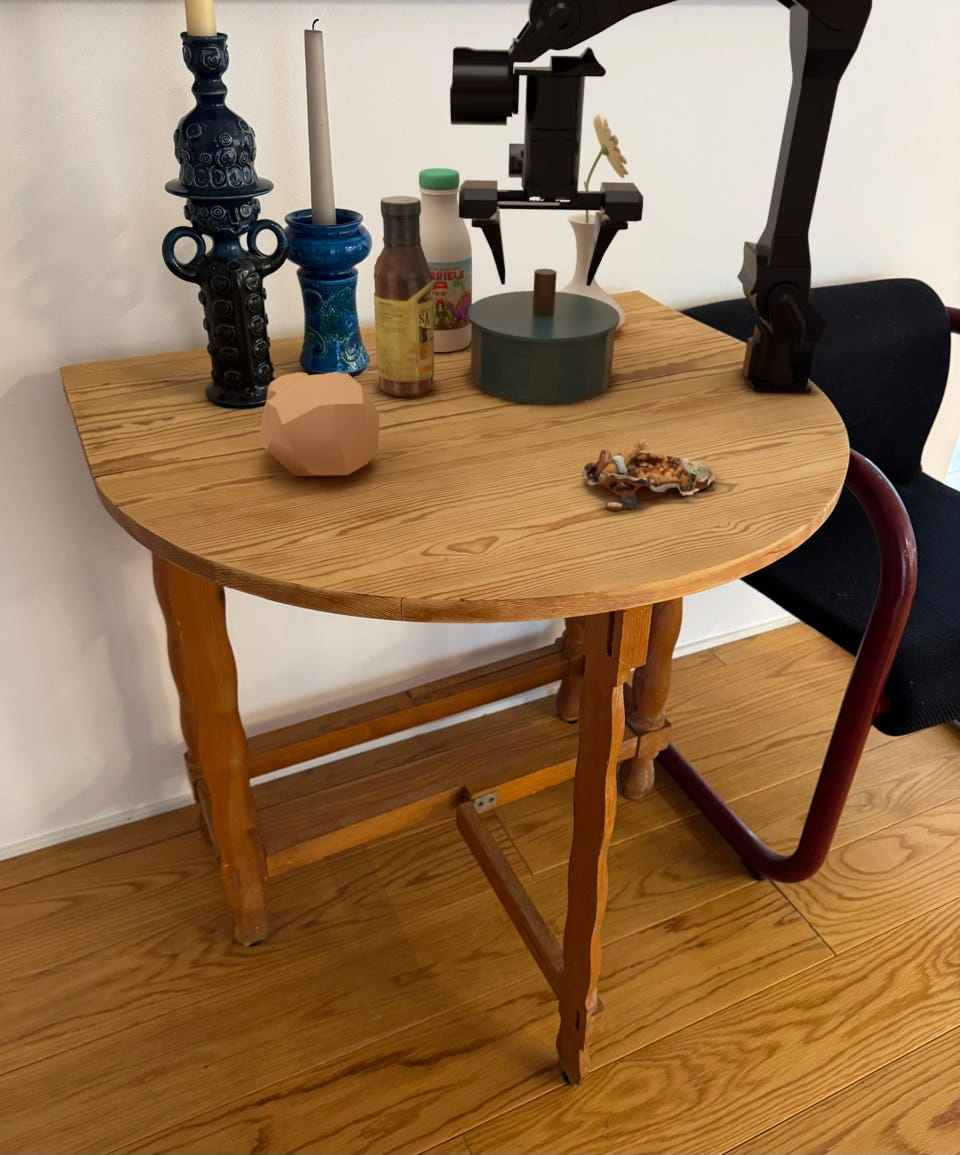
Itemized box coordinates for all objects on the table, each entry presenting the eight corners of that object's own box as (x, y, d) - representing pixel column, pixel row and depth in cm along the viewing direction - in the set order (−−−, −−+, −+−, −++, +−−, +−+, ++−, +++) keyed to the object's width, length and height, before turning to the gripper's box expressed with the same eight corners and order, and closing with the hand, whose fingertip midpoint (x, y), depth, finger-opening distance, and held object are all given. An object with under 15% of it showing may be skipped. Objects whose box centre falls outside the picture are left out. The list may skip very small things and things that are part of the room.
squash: (289, 508, 83) (257, 411, 78) (247, 444, 99) (218, 362, 95) (404, 467, 85) (379, 372, 81) (343, 412, 102) (320, 331, 97)
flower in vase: (619, 348, 117) (640, 126, 104) (528, 339, 119) (538, 121, 106) (630, 316, 128) (650, 111, 114) (546, 309, 130) (557, 107, 116)
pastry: (726, 489, 86) (732, 453, 84) (611, 514, 82) (615, 476, 80) (682, 457, 92) (687, 423, 90) (572, 479, 87) (575, 443, 85)
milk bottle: (402, 335, 120) (397, 166, 109) (461, 330, 122) (462, 163, 111) (418, 356, 114) (414, 178, 103) (479, 350, 116) (481, 175, 105)
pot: (602, 355, 115) (607, 297, 111) (616, 406, 102) (622, 342, 98) (472, 352, 115) (473, 294, 112) (469, 403, 102) (469, 339, 98)
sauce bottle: (432, 400, 103) (429, 207, 92) (375, 398, 103) (365, 206, 92) (436, 377, 108) (434, 193, 97) (381, 376, 108) (373, 192, 97)
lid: (611, 301, 112) (615, 252, 109) (627, 350, 98) (632, 296, 95) (469, 298, 112) (469, 250, 109) (464, 346, 98) (465, 292, 95)
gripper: (637, 116, 101) (623, 265, 110) (462, 114, 101) (462, 263, 110) (651, 132, 92) (635, 294, 100) (458, 129, 92) (458, 291, 100)
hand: (545, 284), depth 103 cm, fingers open, 9 cm apart
